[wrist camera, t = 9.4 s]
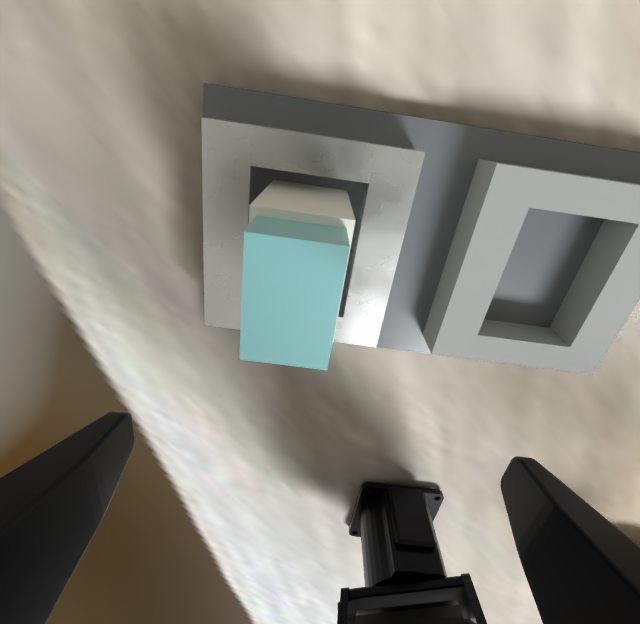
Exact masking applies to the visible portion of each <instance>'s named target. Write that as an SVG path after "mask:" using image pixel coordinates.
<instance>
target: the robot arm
mask: <svg viewBox="0 0 640 624" xmlns="http://www.w3.org/2000/svg"><path fill="white" fill-rule="evenodd" d="M134 442H135V436H134V430H133V422H132V416H131V414H130V413H128V412H120V411H110V412H108V413H106V414H104V415H103V416H101V417H99V418H98V419H96V420H95V421H93V422H91V423H90V424H88V425H86V426H85V427H83V428H81V429H80V430H78V431H76V432H75V433H73V434H72V435H70V436H68V437H67V438H65V439H63V440H62V441H60V442H59V443H57V444H55V445H54V446H52V447H51V448H49V449H47V450H46V451H44V452H42V453H40V454H39V455H37V456H35V457H34V458H32V459H31V460H29V461H27V462H26V463H24V464H22V465H21V466H19V467H17V468H16V469H14V470H13V471H11V472H9V473H8V474H6V475H4V476H3V477H1V478H0V624H45V623H46V621H47V619H48V618H49V616H50V614H51V612H52V610H53V609H54V607H55V605H56V603H57V601H58V599H59V597H60V596H61V594H62V592H63V590H64V588H65V586H66V585H67V583H68V581H69V579H70V577H71V576H72V574H73V572H74V570H75V568H76V567H77V565H78V563H79V561H80V559H81V557H82V556H83V554H84V552H85V550H86V548H87V546H88V545H89V543H90V541H91V539H92V537H93V536H94V534H95V532H96V530H97V528H98V526H99V524H100V522H101V521H102V519H103V517H104V515H105V513H106V510H107V508H108V506H109V504H110V501H111V499H112V497H113V494H114V492H115V490H116V487H117V485H118V482H119V480H120V478H121V475H122V473H123V471H124V468H125V466H126V464H127V461H128V459H129V457H130V454H131V452H132V449H133V447H134ZM501 491H502V494H503V498H504V502H505V506H506V510H507V513H508V517H509V521H510V525H511V529H512V532H513V536H514V540H515V544H516V547H517V551H518V554H519V557H520V560H521V563H522V566H523V569H524V572H525V575H526V578H527V580H528V583H529V586H530V589H531V591H532V594H533V597H534V600H535V602H536V605H537V608H538V611H539V613H540V616H541V619H542V622H543V624H640V547H639V546H638V545H637V544H636V543H635V542H633V541H632V540H631V539H630V538H629V537H627V536H626V535H625V534H624V533H623V532H621V531H620V530H619V529H618V528H617V527H615V526H614V525H613V524H612V523H611V522H609V521H608V520H607V519H606V518H604V517H603V516H602V515H601V514H600V513H598V512H597V511H596V510H595V509H594V508H592V507H591V506H590V505H589V504H588V503H586V502H585V501H584V500H583V499H582V498H580V497H579V496H578V495H577V494H576V493H574V492H573V491H572V490H571V489H570V488H568V487H567V486H566V485H565V484H564V483H562V482H561V481H560V480H559V479H558V478H556V477H555V476H554V475H553V474H552V473H550V472H549V471H548V470H547V469H546V468H544V467H543V466H542V465H541V464H540V463H538V462H537V461H536V460H534V459H532V458H527V457H518V456H517V457H514V458H513V459H512V460H511V462H510V464H509V465H508V467H507V469H506V471H505V473H504V475H503V476H502V479H501ZM443 499H444V497H443V494H442V491H440V490H436V489H427V488H417V487H408V486H399V485H390V484H380V483H371V482H366V483H363V484H362V485H361V488H360V492H359V495H358V498H357V502H356V505H355V509H354V512H353V515H352V519H351V522H350V526H349V534H350V535H351V536H357V537H361V542H362V554H363V566H364V578H365V587H362V588H354V589H349V587H348V588H341V598H340V602H338V620H337V624H487V622H486V620H485V617H484V614H483V611H482V608H481V605H480V603H479V600H478V597H477V594H476V591H475V589H474V586H473V583H472V580H471V577H470V575H469V573H466V574H461V576H455V577H447V575H446V571H445V567H444V563H443V560H442V556H441V552H440V548H439V545H438V541H437V537H436V533H435V529H434V526H433V520H434V518H435V516H436V514H437V512H438V510H439V507H440V505H441V503H442V501H443Z"/></svg>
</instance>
